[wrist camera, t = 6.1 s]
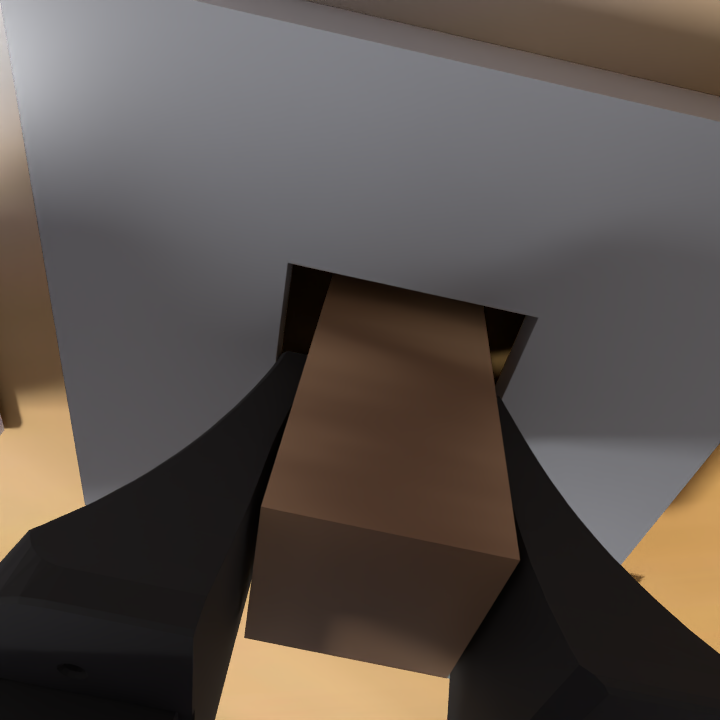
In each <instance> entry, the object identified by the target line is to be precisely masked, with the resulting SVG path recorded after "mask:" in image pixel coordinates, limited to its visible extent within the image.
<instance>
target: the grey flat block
mask: <svg viewBox="0 0 720 720" xmlns="http://www.w3.org/2000/svg"><path fill="white" fill-rule="evenodd" d="M0 3H1V8H2V14H3V20H4V26H5V32H6V38H7V44H8V50H9V56H10V62H11V68H12V74H13V80H14V86H15V92H16V98H17V103H18V109H19V115H20V121H21V127H22V133H23V139H24V145H25V151H26V157H27V163H28V169H29V175H30V181H31V187H32V193H33V198H34V204H35V210H36V216H37V222H38V228H39V234H40V240H41V246H42V252H43V258H44V264H45V270H46V276H47V282H48V287H49V293H50V299H51V305H52V311H53V317H54V323H55V329H56V335H57V341H58V347H59V353H60V359H61V365H62V371H63V377H64V382H65V388H66V394H67V400H68V406H69V412H70V418H71V424H72V430H73V436H74V442H75V448H76V454H77V460H78V466H79V472H80V477H81V483H82V489H83V495H84V501H85V505H88V504H90V503H92V502H94V501H96V500H98V499H100V498H102V497H104V496H106V495H108V494H109V493H111V492H113V491H115V490H117V489H119V488H121V487H122V486H124V485H126V484H128V483H130V482H132V481H134V480H135V479H137V478H139V477H141V476H142V475H144V474H146V473H147V472H149V471H150V470H152V469H154V468H155V467H157V466H158V465H160V464H161V463H163V462H164V461H166V460H167V459H169V458H170V457H172V456H174V455H175V454H177V453H178V452H179V451H181V450H182V449H184V448H185V447H186V446H188V445H189V444H190V443H192V442H193V441H194V440H196V439H197V438H198V437H200V436H201V435H202V434H203V433H205V432H206V431H207V430H208V429H210V428H211V427H212V426H213V425H214V424H216V423H217V422H218V421H219V420H220V419H221V418H222V417H223V416H225V415H226V414H227V413H228V412H229V411H230V410H231V409H233V408H234V407H235V406H236V405H237V404H238V403H239V402H240V401H241V400H242V399H243V398H244V397H245V396H246V395H247V394H248V393H249V392H250V391H251V390H252V389H253V388H254V387H255V386H256V385H257V384H258V383H259V381H260V380H261V379H262V378H263V377H264V376H265V375H266V374H267V372H268V371H269V370H270V369H271V368H272V367H273V365H274V364H275V363H276V361H277V360H278V359H279V357H280V356H281V353H282V345H283V337H284V329H285V322H286V314H287V306H288V298H289V290H290V283H291V275H292V267H293V264H295V265H300V266H305V267H309V268H314V269H318V270H323V271H327V272H332V273H337V274H341V275H346V276H350V277H355V278H359V279H364V280H369V281H373V282H378V283H382V284H387V285H391V286H396V287H401V288H405V289H410V290H414V291H419V292H423V293H428V294H433V295H437V296H442V297H446V298H451V299H455V300H460V301H465V302H469V303H474V304H478V305H483V306H487V307H492V308H497V309H501V310H506V311H510V312H515V313H519V314H524V315H526V316H525V319H524V321H523V323H522V326H521V328H520V330H519V333H518V335H517V337H516V339H515V342H514V344H513V346H512V349H511V351H510V353H509V356H508V358H507V360H506V362H505V365H504V367H503V369H502V372H501V374H500V376H499V379H498V381H497V383H496V386H495V391H496V396H500V398H501V399H502V401H503V403H504V404H505V406H506V408H507V410H508V411H509V413H510V415H511V416H512V418H513V420H514V422H515V423H516V425H517V427H518V429H519V430H520V432H521V434H522V435H523V437H524V439H525V440H526V442H527V444H528V445H529V447H530V449H531V450H532V452H533V453H534V455H535V457H536V458H537V460H538V461H539V463H540V464H541V466H542V468H543V469H544V471H545V472H546V474H547V475H548V476H549V478H550V479H551V481H552V482H553V484H554V485H555V487H556V488H557V489H558V491H559V492H560V493H561V495H562V496H563V498H564V499H565V500H566V502H567V503H568V504H569V506H570V507H571V508H572V510H573V511H574V512H575V513H576V515H577V516H578V517H579V518H580V520H581V521H582V522H583V523H584V524H585V526H586V527H587V528H588V529H589V530H590V532H591V533H592V534H593V535H594V536H595V537H596V539H597V540H598V541H599V542H600V543H601V544H602V546H603V547H604V548H605V549H606V550H607V551H608V552H609V553H610V554H611V555H612V556H613V558H614V559H615V560H616V561H617V562H618V563H619V564H620V565H621V564H622V563H623V562H624V560H625V559H626V558H627V557H628V555H629V554H630V553H631V552H632V550H633V549H634V548H635V547H636V546H637V544H638V543H639V542H640V541H641V539H642V538H643V537H644V536H645V534H646V533H647V532H648V531H649V530H650V528H651V527H652V526H653V525H654V523H655V522H656V521H657V520H658V518H659V517H660V516H661V515H662V514H663V512H664V511H665V510H666V509H667V507H668V506H669V505H670V504H671V502H672V501H673V500H674V499H675V498H676V496H677V495H678V494H679V493H680V491H681V490H682V489H683V488H684V486H685V485H686V484H687V483H688V482H689V480H690V479H691V478H692V477H693V475H694V474H695V473H696V472H697V471H698V469H699V468H700V467H701V466H702V464H703V463H704V462H705V461H706V459H707V458H708V457H709V456H710V455H711V453H712V452H713V451H714V450H715V448H716V447H717V446H718V445H719V443H720V97H719V96H715V95H710V94H706V93H702V92H698V91H693V90H689V89H685V88H680V87H676V86H672V85H667V84H663V83H659V82H654V81H650V80H646V79H642V78H637V77H633V76H629V75H624V74H620V73H616V72H611V71H607V70H603V69H598V68H594V67H590V66H585V65H581V64H577V63H573V62H568V61H564V60H560V59H555V58H551V57H547V56H542V55H538V54H534V53H529V52H525V51H521V50H517V49H512V48H508V47H504V46H499V45H495V44H491V43H486V42H482V41H478V40H473V39H469V38H465V37H460V36H456V35H452V34H448V33H443V32H439V31H435V30H430V29H426V28H422V27H417V26H413V25H409V24H404V23H400V22H396V21H392V20H387V19H383V18H379V17H374V16H370V15H366V14H361V13H357V12H353V11H348V10H344V9H340V8H335V7H331V6H327V5H323V4H318V3H314V2H310V1H305V0H0Z"/></svg>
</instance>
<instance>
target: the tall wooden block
mask: <svg viewBox="0 0 720 720" xmlns="http://www.w3.org/2000/svg"><path fill="white" fill-rule="evenodd" d="M519 561H520V556H519V549H518V542H517V535H516V528H515V522H514V515H513V508H512V501H511V494H510V487H509V480H508V473H507V467H506V460H505V453H504V446H503V439H502V432H501V425H500V418H499V412H498V405H497V398H496V391H495V384H494V377H493V370H492V363H491V356H490V350H489V343H488V336H487V329H486V322H485V315H484V308H483V305H478V304H474V303H469V302H465V301H460V300H455V299H451V298H446V297H442V296H437V295H433V294H428V293H423V292H419V291H414V290H410V289H405V288H401V287H396V286H391V285H387V284H382V283H378V282H373V281H369V280H364V279H359V278H355V277H350V276H346V275H341V274H337V273H333V275H332V279H331V282H330V285H329V288H328V292H327V295H326V298H325V301H324V305H323V308H322V311H321V314H320V318H319V321H318V324H317V327H316V330H315V334H314V337H313V340H312V343H311V347H310V350H309V353H308V356H307V360H306V363H305V366H304V369H303V372H302V376H301V379H300V382H299V385H298V389H297V392H296V395H295V398H294V402H293V405H292V408H291V411H290V414H289V418H288V421H287V424H286V427H285V431H284V434H283V437H282V440H281V444H280V447H279V450H278V453H277V456H276V460H275V463H274V466H273V469H272V473H271V476H270V479H269V482H268V486H267V489H266V492H265V495H264V499H263V502H262V505H261V510H260V518H259V526H258V534H257V542H256V550H255V557H254V565H253V573H252V581H251V589H250V597H249V605H248V612H247V620H246V628H245V636H244V638H248V639H253V640H258V641H263V642H268V643H273V644H278V645H283V646H288V647H293V648H298V649H303V650H308V651H313V652H318V653H323V654H328V655H333V656H338V657H343V658H348V659H353V660H358V661H363V662H368V663H373V664H378V665H383V666H388V667H393V668H398V669H403V670H408V671H413V672H418V673H423V674H428V675H433V676H438V677H443V678H448V676H449V674H450V673H451V671H452V670H453V668H454V666H455V665H456V663H457V661H458V660H459V658H460V657H461V655H462V653H463V652H464V650H465V649H466V647H467V645H468V644H469V642H470V640H471V639H472V637H473V636H474V634H475V632H476V631H477V629H478V628H479V626H480V624H481V623H482V621H483V619H484V618H485V616H486V615H487V613H488V611H489V610H490V608H491V607H492V605H493V603H494V602H495V600H496V598H497V597H498V595H499V594H500V592H501V590H502V589H503V587H504V586H505V584H506V582H507V581H508V579H509V577H510V576H511V574H512V573H513V571H514V569H515V568H516V566H517V565H518V563H519Z"/></svg>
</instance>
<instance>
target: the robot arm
mask: <svg viewBox="0 0 720 720" xmlns="http://www.w3.org/2000/svg"><path fill="white" fill-rule="evenodd" d="M307 356H308V355H305V354H301V353H296V352H291V351H286V352H284V353H282V354H281V356H280V357H279V359H278V360H277V361H276V363H275V364H274V365H273V367H272V368H271V369H270V370H269V371H268V372H267V374H266V375H265V376H264V377H263V378H262V379H261V380H260V381H259V383H258V384H257V385H256V386H255V387H254V388H253V389H252V390H251V391H250V392H249V393H248V394H247V395H246V396H245V397H244V398H243V399H242V400H241V401H240V402H239V403H238V404H237V405H236V406H235V407H234V408H233V409H231V410H230V411H229V412H228V413H227V414H226V415H225V416H223V417H222V418H221V419H220V420H219V421H218V422H217V423H216V424H214V425H213V426H212V427H211V428H210V429H208V430H207V431H206V432H205V433H203V434H202V435H201V436H200V437H198V438H197V439H196V440H194V441H193V442H192V443H190V444H189V445H188V446H186V447H185V448H184V449H182V450H181V451H179V452H178V453H177V454H175V455H174V456H172V457H170V458H169V459H167V460H166V461H164V462H163V463H161V464H160V465H158V466H157V467H155V468H154V469H152V470H150V471H149V472H147V473H146V474H144V475H142V476H141V477H139V478H137V479H135V480H134V481H132V482H130V483H128V484H126V485H124V486H122V487H121V488H119V489H117V490H115V491H113V492H111V493H109V494H108V495H106V496H104V497H102V498H100V499H98V500H96V501H94V502H92V503H90V504H88V505H86V506H84V507H82V508H80V509H77V510H75V511H73V512H70V513H68V514H66V515H64V516H61V517H59V518H57V519H55V520H52V521H50V522H48V523H45V524H43V525H41V526H38V527H36V528H33V529H31V530H29V531H28V532H27V533H26V534H25V535H24V536H23V538H22V539H21V540H20V541H19V542H18V543H17V544H16V545H15V547H14V548H13V549H12V550H11V551H10V552H9V553H8V554H7V555H6V557H5V558H4V559H3V560H2V561H1V562H0V720H215V717H216V713H217V709H218V705H219V701H220V697H221V693H222V690H223V686H224V682H225V678H226V674H227V670H228V666H229V663H230V659H231V655H232V651H233V647H234V643H235V640H236V636H237V632H238V628H239V624H240V621H241V617H242V613H243V609H244V606H245V602H246V598H247V594H248V591H249V587H250V583H251V580H252V573H253V565H254V557H255V550H256V542H257V534H258V526H259V518H260V510H261V505H262V502H263V499H264V495H265V492H266V489H267V486H268V482H269V479H270V476H271V473H272V469H273V466H274V463H275V460H276V456H277V453H278V450H279V447H280V444H281V440H282V437H283V434H284V431H285V427H286V424H287V421H288V418H289V414H290V411H291V408H292V405H293V402H294V398H295V395H296V392H297V389H298V385H299V382H300V379H301V376H302V372H303V369H304V366H305V363H306V360H307ZM496 398H497V405H498V412H499V418H500V425H501V432H502V439H503V446H504V453H505V460H506V467H507V473H508V480H509V487H510V494H511V501H512V508H513V515H514V522H515V528H516V535H517V542H518V549H519V556H520V561H519V563H518V565H517V566H516V568H515V569H514V571H513V573H512V574H511V576H510V577H509V579H508V581H507V582H506V584H505V586H504V587H503V589H502V590H501V592H500V594H499V595H498V597H497V598H496V600H495V602H494V603H493V605H492V607H491V608H490V610H489V611H488V613H487V615H486V616H485V618H484V619H483V621H482V623H481V624H480V626H479V628H478V629H477V631H476V632H475V634H474V636H473V637H472V639H471V640H470V642H469V644H468V645H467V647H466V649H465V650H464V652H463V653H462V655H461V657H460V658H459V660H458V661H457V663H456V665H455V666H454V668H453V670H452V671H451V673H450V683H449V701H448V716H447V720H720V654H719V653H718V652H717V651H715V650H714V649H713V648H712V647H710V646H709V645H708V644H707V643H705V642H704V641H703V640H702V639H700V638H699V637H698V636H697V635H695V634H694V633H693V632H692V631H690V630H689V629H688V628H687V627H686V626H685V625H684V624H682V623H681V622H680V621H679V620H678V619H677V618H676V617H675V616H673V615H672V614H671V613H670V612H669V611H668V610H667V609H666V608H664V607H663V606H662V605H661V604H660V603H659V602H658V601H657V600H656V599H655V598H654V597H652V596H651V595H650V594H649V593H648V592H647V591H646V590H645V589H644V588H643V587H642V586H641V585H640V584H639V583H638V582H637V581H636V580H635V579H634V578H633V577H632V576H631V575H630V574H629V573H628V572H627V571H626V570H625V569H624V568H623V567H622V566H621V565H620V564H619V563H618V562H617V561H616V560H615V559H614V558H613V556H612V555H611V554H610V553H609V552H608V551H607V550H606V549H605V548H604V547H603V546H602V544H601V543H600V542H599V541H598V540H597V539H596V537H595V536H594V535H593V534H592V533H591V532H590V530H589V529H588V528H587V527H586V526H585V524H584V523H583V522H582V521H581V520H580V518H579V517H578V516H577V515H576V513H575V512H574V511H573V510H572V508H571V507H570V506H569V504H568V503H567V502H566V500H565V499H564V498H563V496H562V495H561V493H560V492H559V491H558V489H557V488H556V487H555V485H554V484H553V482H552V481H551V479H550V478H549V476H548V475H547V474H546V472H545V471H544V469H543V468H542V466H541V464H540V463H539V461H538V460H537V458H536V457H535V455H534V453H533V452H532V450H531V449H530V447H529V445H528V444H527V442H526V440H525V439H524V437H523V435H522V434H521V432H520V430H519V429H518V427H517V425H516V423H515V422H514V420H513V418H512V416H511V415H510V413H509V411H508V410H507V408H506V406H505V404H504V403H503V401H502V399H501V398H500V396H496ZM3 431H4V426H3V422H2V418H1V415H0V435H1V434H2V433H3Z"/></svg>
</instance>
